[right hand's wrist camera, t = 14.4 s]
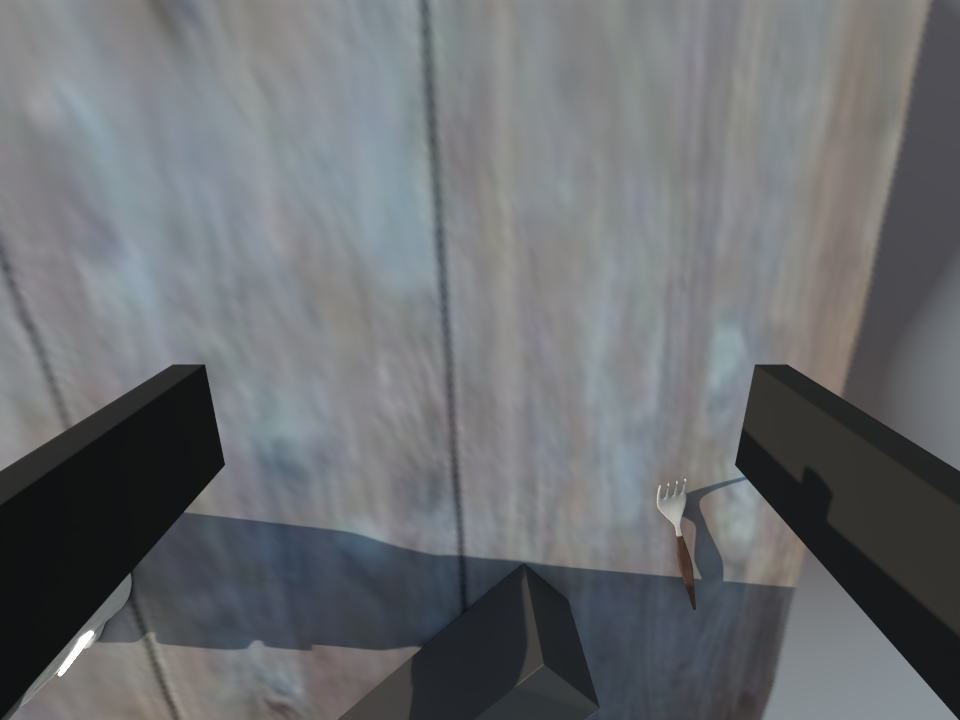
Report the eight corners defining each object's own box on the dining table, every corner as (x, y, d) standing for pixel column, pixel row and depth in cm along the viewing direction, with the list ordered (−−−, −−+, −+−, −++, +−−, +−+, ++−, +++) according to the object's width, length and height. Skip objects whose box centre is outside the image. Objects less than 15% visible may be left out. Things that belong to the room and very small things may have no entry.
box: (523, 562, 48) (544, 664, 37) (568, 599, 49) (599, 707, 39) (337, 719, 52) (308, 850, 42) (383, 749, 54) (366, 882, 43)
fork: (678, 608, 49) (686, 625, 47) (649, 473, 44) (657, 486, 42) (705, 602, 49) (714, 619, 47) (679, 465, 44) (688, 478, 42)
